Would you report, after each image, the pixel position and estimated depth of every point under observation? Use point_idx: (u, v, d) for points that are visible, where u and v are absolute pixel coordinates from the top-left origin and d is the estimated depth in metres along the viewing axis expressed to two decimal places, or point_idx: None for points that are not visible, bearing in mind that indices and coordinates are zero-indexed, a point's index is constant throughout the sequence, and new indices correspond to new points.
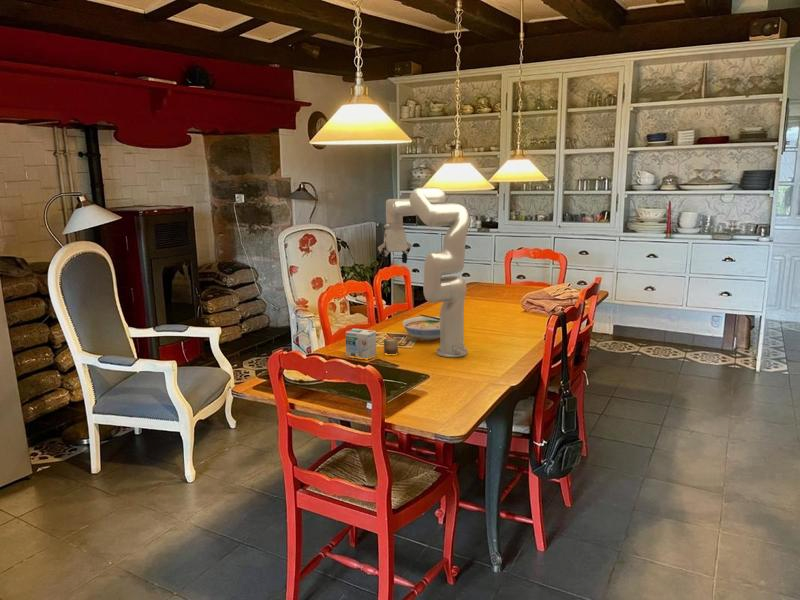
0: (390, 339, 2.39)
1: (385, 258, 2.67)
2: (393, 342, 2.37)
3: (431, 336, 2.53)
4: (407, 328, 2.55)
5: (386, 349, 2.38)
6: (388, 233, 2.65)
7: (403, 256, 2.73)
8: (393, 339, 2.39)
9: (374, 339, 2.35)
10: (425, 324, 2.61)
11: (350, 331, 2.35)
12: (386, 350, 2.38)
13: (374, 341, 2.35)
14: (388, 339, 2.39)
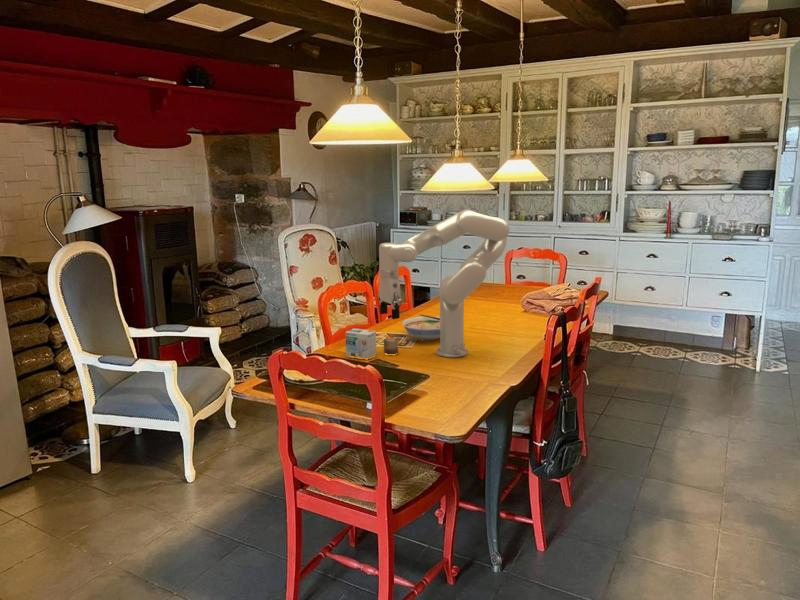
0: (390, 339, 2.39)
1: None
2: (393, 342, 2.37)
3: (431, 336, 2.53)
4: (407, 328, 2.55)
5: (386, 349, 2.38)
6: (398, 282, 2.32)
7: (383, 306, 2.40)
8: (393, 339, 2.39)
9: (374, 339, 2.35)
10: (425, 324, 2.61)
11: (350, 331, 2.35)
12: (386, 350, 2.38)
13: (374, 341, 2.35)
14: (388, 339, 2.39)
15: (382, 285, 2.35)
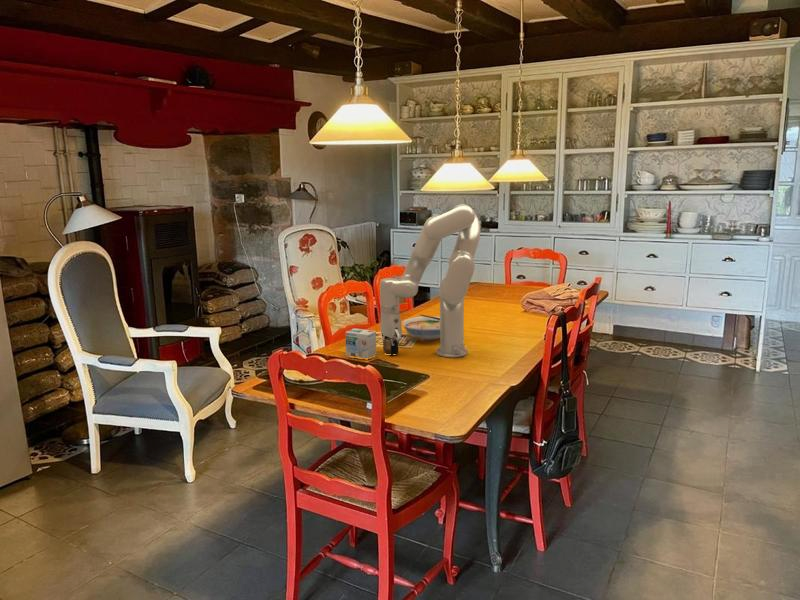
0: (390, 339, 2.39)
1: (397, 347, 2.37)
2: None
3: (431, 336, 2.53)
4: (407, 328, 2.55)
5: (386, 349, 2.38)
6: (399, 317, 2.35)
7: None
8: (393, 339, 2.39)
9: (374, 339, 2.35)
10: (425, 324, 2.61)
11: (350, 331, 2.35)
12: (386, 350, 2.38)
13: (374, 341, 2.35)
14: (388, 339, 2.39)
15: (383, 319, 2.38)
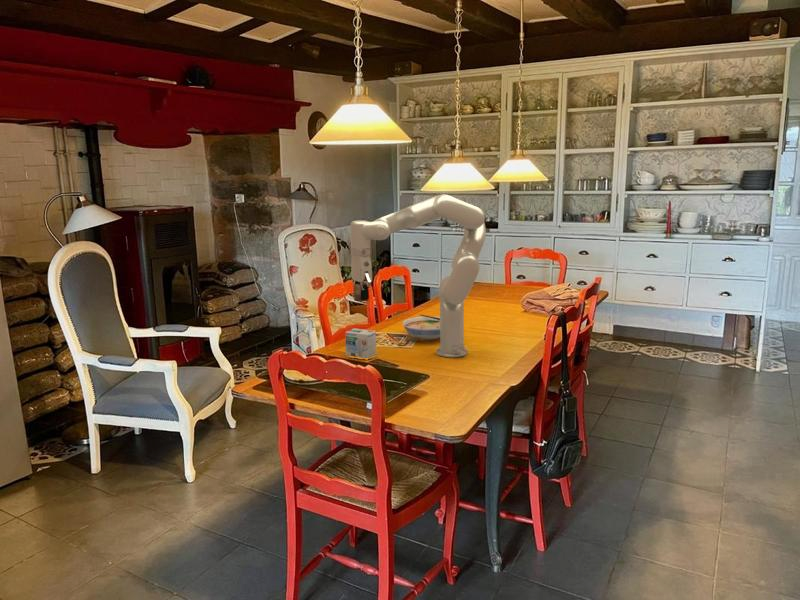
0: (360, 284, 2.31)
1: None
2: None
3: (431, 336, 2.53)
4: (407, 328, 2.55)
5: (356, 294, 2.30)
6: (370, 260, 2.27)
7: None
8: (363, 284, 2.31)
9: (374, 339, 2.35)
10: (425, 324, 2.61)
11: (350, 331, 2.35)
12: (356, 295, 2.30)
13: (374, 341, 2.35)
14: (358, 284, 2.31)
15: (353, 263, 2.30)
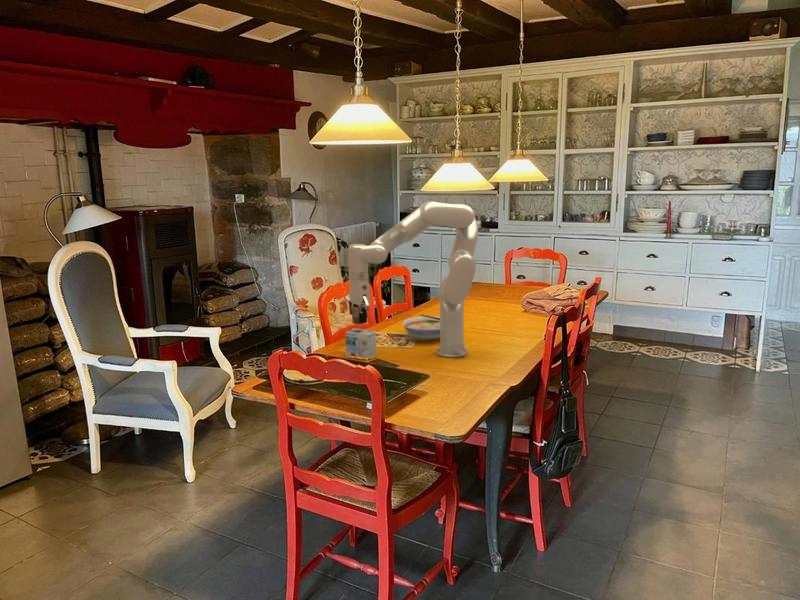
0: (358, 307, 2.33)
1: (365, 314, 2.31)
2: None
3: (431, 336, 2.53)
4: (407, 328, 2.55)
5: (354, 317, 2.32)
6: (368, 283, 2.28)
7: None
8: (362, 307, 2.33)
9: (374, 339, 2.35)
10: (425, 324, 2.61)
11: (350, 331, 2.35)
12: (354, 318, 2.32)
13: (374, 341, 2.35)
14: (356, 307, 2.33)
15: (351, 286, 2.31)
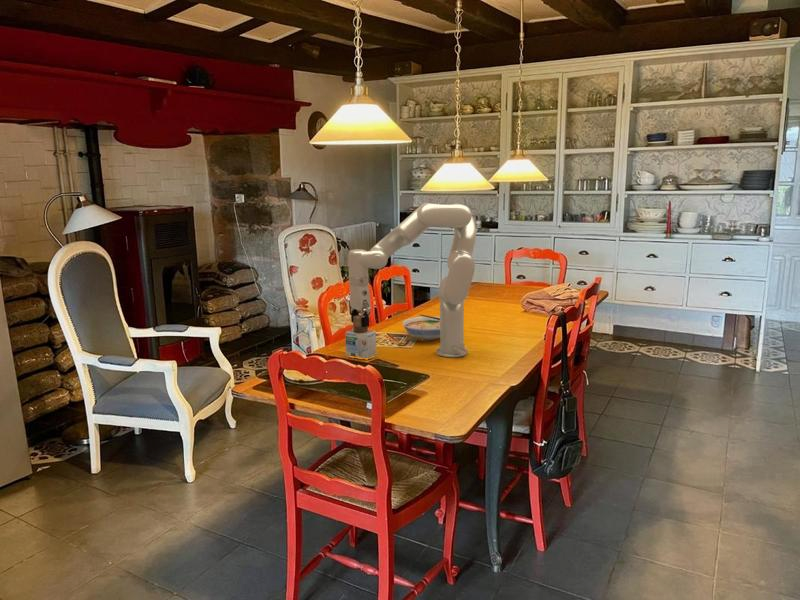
0: (359, 316, 2.34)
1: (367, 319, 2.30)
2: None
3: (431, 336, 2.53)
4: (407, 328, 2.55)
5: (355, 326, 2.32)
6: (368, 289, 2.29)
7: (355, 314, 2.37)
8: None
9: (374, 339, 2.35)
10: (425, 324, 2.61)
11: (350, 331, 2.35)
12: (355, 327, 2.32)
13: (374, 341, 2.35)
14: (357, 316, 2.34)
15: (351, 292, 2.32)
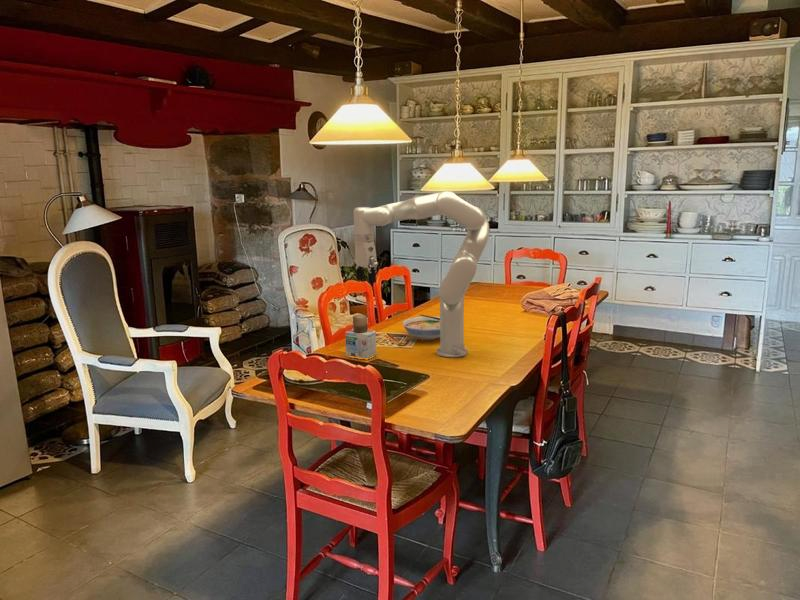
0: (359, 316, 2.34)
1: None
2: (362, 319, 2.31)
3: (431, 336, 2.53)
4: (407, 328, 2.55)
5: (355, 326, 2.32)
6: (374, 245, 2.32)
7: (360, 272, 2.40)
8: (362, 316, 2.34)
9: (374, 339, 2.35)
10: (425, 324, 2.61)
11: (350, 331, 2.35)
12: (355, 327, 2.32)
13: (374, 341, 2.35)
14: (357, 316, 2.34)
15: (357, 249, 2.35)
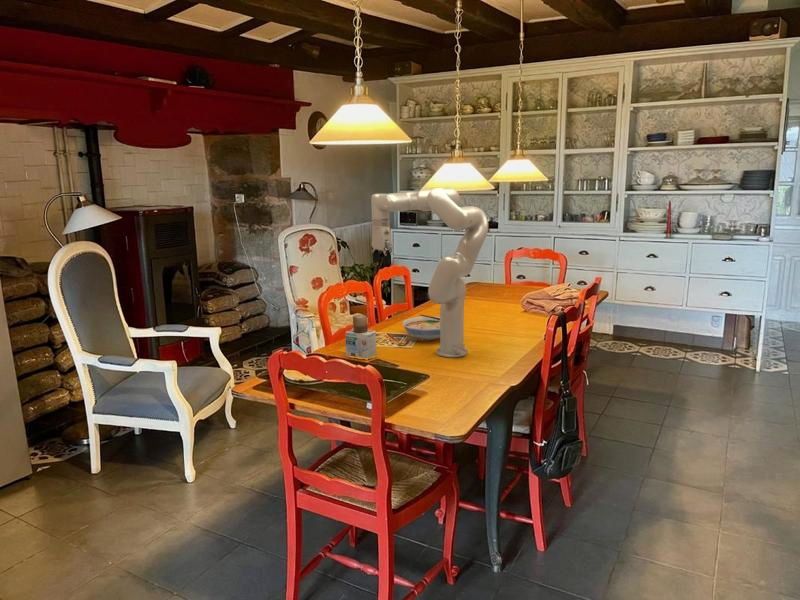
0: (359, 316, 2.34)
1: (389, 257, 2.48)
2: (362, 319, 2.31)
3: (431, 336, 2.53)
4: (407, 328, 2.55)
5: (355, 326, 2.32)
6: (390, 230, 2.47)
7: (376, 255, 2.56)
8: (362, 316, 2.34)
9: (374, 339, 2.35)
10: (425, 324, 2.61)
11: (350, 331, 2.36)
12: (355, 327, 2.32)
13: (374, 341, 2.35)
14: (357, 316, 2.34)
15: (374, 233, 2.50)
